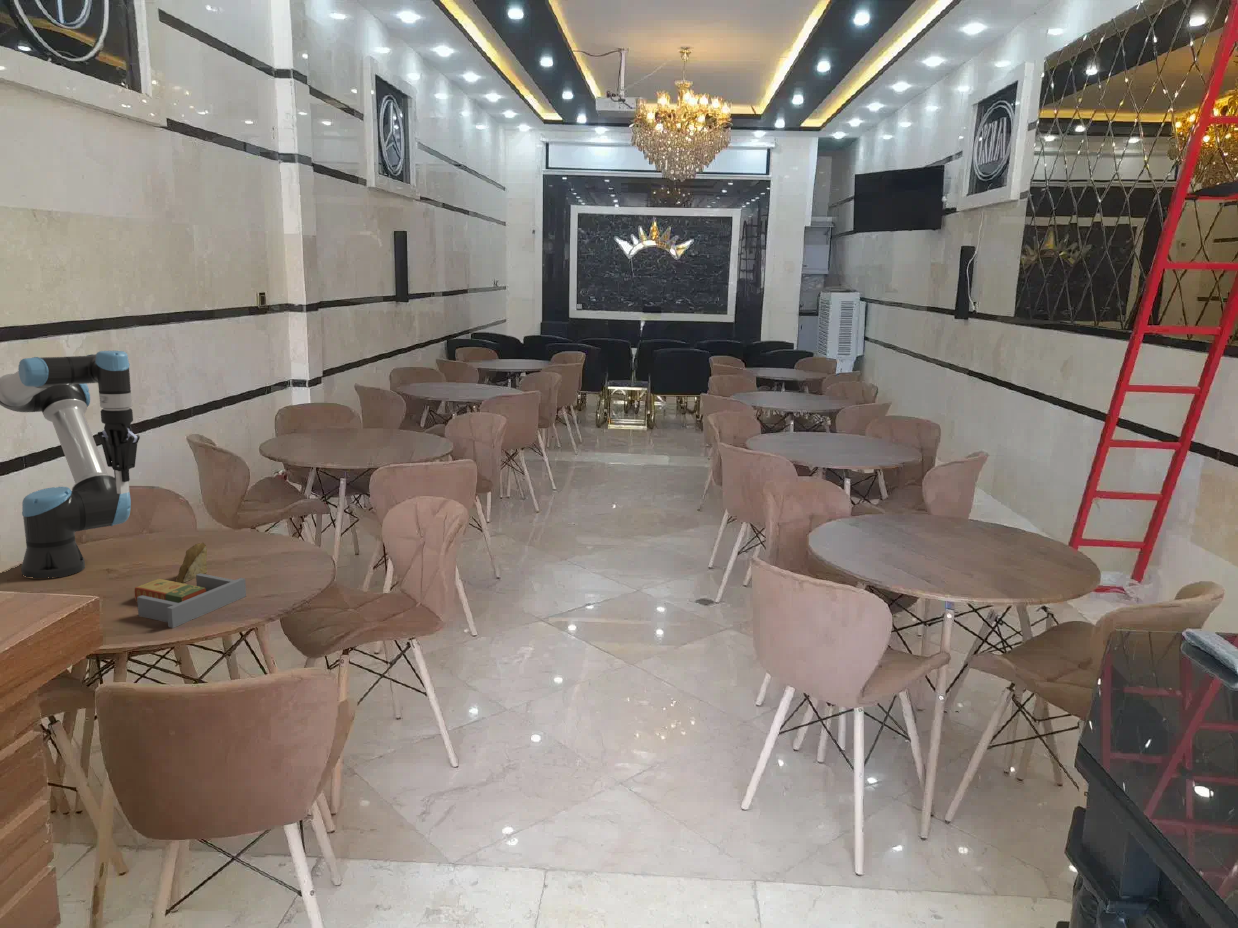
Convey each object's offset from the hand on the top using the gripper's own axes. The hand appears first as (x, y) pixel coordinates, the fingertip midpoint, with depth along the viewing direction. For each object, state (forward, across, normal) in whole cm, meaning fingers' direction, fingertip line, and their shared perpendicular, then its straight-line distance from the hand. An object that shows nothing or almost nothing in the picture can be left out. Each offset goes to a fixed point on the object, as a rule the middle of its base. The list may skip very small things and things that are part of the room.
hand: (123, 492), depth 239 cm
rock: (+25, +15, +7) cm, 30 cm away
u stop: (+24, +33, -10) cm, 42 cm away
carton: (+25, +25, -9) cm, 36 cm away
